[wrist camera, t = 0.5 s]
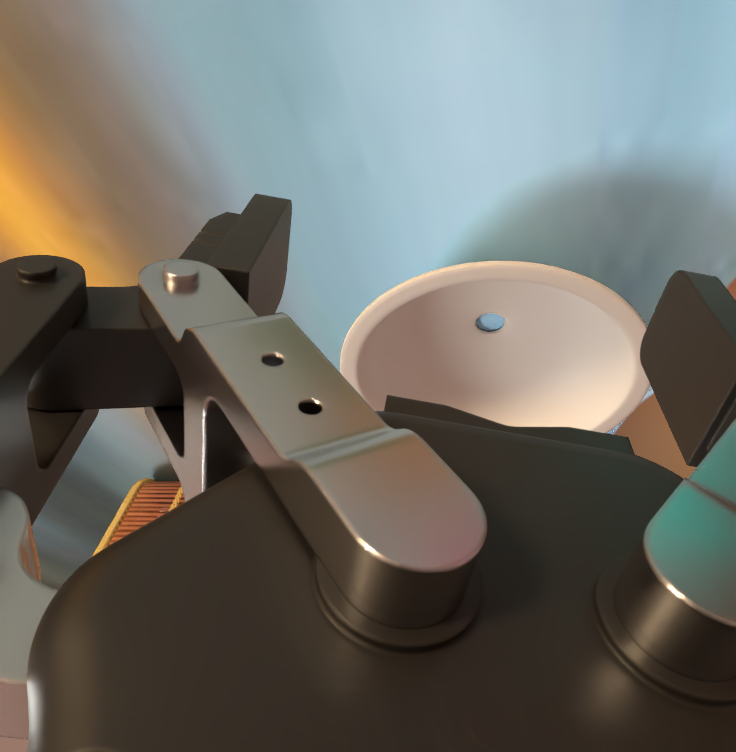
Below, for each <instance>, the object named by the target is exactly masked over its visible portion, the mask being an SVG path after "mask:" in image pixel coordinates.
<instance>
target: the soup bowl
mask: <svg viewBox="0 0 736 752" xmlns="http://www.w3.org/2000/svg"><path fill="white" fill-rule="evenodd" d="M488 313H493V314H497V315H500V316H501V317H503V319H504V325H503V327H502V328H500V329H499V330H497V331H493V332H486V331H482V330H480V329H479V328H478V327H477V326H476V319H477V318H478V317H480V316H481V315H484V314H488ZM646 329H647V327H646V325H645V323H644V321H643V320H642V318H641V317H640V316H639V315H638V313H637V312H636V311H635V309H634V308H633V307H632V306H631V305H630V304H629V303H628V302H627V301H626V300H624V299H623V298H622V297H620V296H619V295H618V294H617V293H615V292H614V291H612V290H611V289H609V288H607V287H606V286H604V285H603V284H601V283H599V282H597V281H594V280H592V279H590V278H588V277H586V276H583V275H580V274H578V273H575V272H572V271H569V270H565V269H562V268H558V267H554V266H549V265H544V264H539V263H530V262H521V261H482V262H473V263H465V264H459V265H454V266H449V267H445V268H441V269H437V270H433V271H430V272H427V273H425V274H422V275H419V276H416V277H414V278H412V279H409V280H407V281H405V282H403V283H401V284H399V285H397V286H395V287H394V288H392V289H390V290H388V291H387V292H386V293H384V294H383V295H381V296H380V297H378V298H377V299H376V300H375V301H373V302H372V303H371V304H370V305H369V306H368V307H367V308H366V309H365V310H364V311H363V312H362V313H361V314H360V315H359V316H358V318H357V319H356V321H355V322H354V323H353V325H352V326H351V328H350V330H349V332H348V334H347V336H346V338H345V340H344V343H343V346H342V350H341V355H340V372H341V374H342V375H343V377H344V378H345V379H346V380H347V381H348V382H349V383H350V384H351V385H352V387H353V388H354V389H355V390H356V391H357V392H358V393H359V394H360V395H361V396H362V398H363V399H364V400H365V401H366V402H367V403H368V404H369V405H370V406H371V408H372V409H373V410H374V411H384V407H385V402H386V397H387V395H391V396H396V397H402V398H408V399H414V400H419V401H425V402H431V403H436V404H442V405H447V406H450V407H453V408H456V409H459V410H462V411H465V412H468V413H471V414H474V415H477V416H480V417H483V418H485V419H488V420H491V421H494V422H497V423H500V424H503V425H507V426H514V427H572V428H578V429H584V430H589V431H595V432H601V433H607V432H609V431H610V430H612V429H613V428H615V427H616V426H617V425H619V424H620V423H621V422H622V421H623V420H625V419H626V418H627V417H628V416H629V415H630V414H631V413H632V412H633V411H634V410H635V409H636V407H637V406H638V405H639V404H640V402H641V401H642V399H643V398H644V396H645V395H646V393H647V391H648V389H649V386H650V383H649V380H648V378H647V376H646V374H645V372H644V369H643V367H642V365H641V362H640V347H641V342H642V339H643V336H644V334H645V331H646Z"/></svg>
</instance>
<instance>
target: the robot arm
mask: <svg viewBox="0 0 736 752" xmlns="http://www.w3.org/2000/svg"><path fill="white" fill-rule="evenodd" d="M291 214H292V203H291V200H288V199H283V198H277V197H272V196H266V195H260V194H255V195H254V196H253V198H252V199H251V201H250V202H249V203H248V205H247V206H246V208H245V209H244V211H243V212H242V214H235V213H230V212H226V213H224V214H221V215H219V216H217V217H214V218H212V219H210V220H209V221H208V222H207V223H206V225H205V226H204V227H203V229H202V230H201V232H199V234H198V235H197V236H196V237H195V239H194V241H192V242H191V244H190V245H189V246H188V248H187V249H186V250H185V251H184V253H183V254H182V255H181V256H180V258H179V259H170V260H162V261H158V262H154V263H152V264H149V265H147V266H145V267H144V268H143V269H141V271H140V272H139V274H138V286H130V287H86V278H85V271H84V269H83V267H82V266H80V265H79V264H78V263H76V262H74V261H72V260H70V259H66V258H63V257H58V256H50V255H31V256H23V257H17V258H13V259H10V260H7V261H4V262H2V263H0V737H8V738H17V739H27V740H28V743H27V752H736V300H735V299H734V298H733V297H732V295H731V294H730V293H729V291H728V290H727V289H726V288H725V286H724V285H723V284H722V282H721V281H720V280H719V279H718V278H717V277H715V276H710V275H705V274H699V273H693V272H688V271H682V270H679V271H676V272H675V273H674V274H673V275H672V276H671V278H670V279H669V281H668V283H667V285H666V287H665V290H664V292H663V294H662V296H661V298H660V301H659V303H658V305H657V307H656V309H655V312H654V314H653V316H652V318H651V320H650V323H649V325H648V327H647V329H646V331H645V334H644V336H643V339H642V342H641V347H640V362H641V365H642V367H643V369H644V372H645V374H646V376H647V378H648V380H649V383H650V385H651V387H652V389H653V391H654V394H655V396H656V398H657V400H658V402H659V405H660V407H661V409H662V411H663V413H664V415H665V418H666V420H667V422H668V424H669V427H670V429H671V431H672V433H673V435H674V438H675V440H676V442H677V444H678V447H679V449H680V451H681V453H682V455H683V457H684V460H685V461H686V464H687V465H689V466H694V467H697V468H696V469H695V470H694V472H693V473H692V474H691V476H690V477H689V478H688V479H687V478H685V479H683V478H682V477H680V476H678V475H677V474H675V473H673V472H672V471H670V470H668V469H666V468H664V467H662V466H660V465H658V464H656V463H654V462H652V461H649V460H647V459H645V458H642V457H640V456H637V455H635V454H634V452H633V449H632V446H631V444H630V440H629V438H628V437H623V436H618V435H612V434H606V433H601V432H595V431H589V430H584V429H578V428H572V427H514V426H507V425H503V424H500V423H497V422H494V421H491V420H488V419H485V418H483V417H480V416H477V415H474V414H471V413H468V412H465V411H462V410H459V409H456V408H453V407H450V406H447V405H442V404H436V403H431V402H425V401H419V400H414V399H408V398H402V397H396V396H391V395H387V397H386V402H385V407H384V411H374V410H373V409H372V408H371V406H370V405H369V404H368V403H367V402H366V401H365V400H364V399H363V398H362V396H361V395H360V394H359V393H358V392H357V391H356V390H355V389H354V388H353V387H352V385H351V384H350V383H349V382H348V381H347V380H346V379H345V378H344V377H343V375H342V374H341V373H340V372H339V371H338V370H337V369H336V368H335V367H334V366H333V364H332V363H331V362H330V361H329V360H328V359H327V358H326V357H325V356H324V354H323V353H322V352H321V351H320V350H319V349H318V348H317V347H316V346H315V345H314V343H313V342H312V341H311V340H310V339H309V338H308V337H307V336H306V335H305V334H304V332H303V331H302V330H301V329H300V328H299V327H298V326H297V325H296V324H295V322H294V321H293V320H292V319H291V318H290V317H289V316H288V315H286V314H285V313H276V314H275V312H276V309H277V307H278V305H279V302H280V300H281V297H282V294H283V290H284V285H285V279H286V272H287V261H288V249H289V238H290V226H291ZM135 407H145V413H146V416H147V418H148V420H149V422H150V424H151V426H152V428H153V429H154V431H155V433H156V435H157V437H158V439H159V441H160V443H161V445H162V447H163V449H164V451H165V453H166V455H167V456H168V458H169V460H170V462H171V464H172V466H173V468H174V470H175V472H176V474H177V476H178V478H179V480H180V483H181V486H182V490H183V494H184V499H185V502H184V503H182V504H181V505H179V506H177V507H175V508H174V509H172V510H170V511H168V512H167V513H165V514H163V515H161V516H160V517H158V518H156V519H154V520H153V521H151V522H149V523H147V524H146V525H144V526H142V527H140V528H139V529H137V530H135V531H133V532H132V533H130V534H128V535H126V536H125V537H123V538H121V539H119V540H118V541H116V542H114V543H112V544H111V545H109V546H108V547H106V548H104V549H103V550H101V551H100V552H98V553H97V554H95V555H94V556H92V557H91V558H90V559H89V560H87V561H86V562H85V563H84V564H83V565H81V566H80V567H79V568H78V569H77V570H76V571H75V572H74V573H73V574H72V575H71V576H70V577H69V578H68V579H67V581H66V582H65V583H64V584H63V585H62V586H61V588H60V589H59V590H58V589H53V588H51V587H48V586H45V585H43V584H42V583H40V577H41V573H40V566H39V561H38V556H37V551H36V546H35V541H34V537H33V532H32V527H31V526H32V525H33V523H34V521H35V520H36V518H37V516H38V514H39V513H40V511H41V509H42V508H43V506H44V504H45V503H46V501H47V499H48V498H49V496H50V494H51V493H52V491H53V489H54V487H55V486H56V484H57V482H58V481H59V479H60V477H61V476H62V474H63V472H64V471H65V469H66V467H67V466H68V464H69V462H70V461H71V459H72V457H73V455H74V454H75V452H76V450H77V449H78V447H79V445H80V444H81V442H82V440H83V439H84V437H85V435H86V434H87V432H88V430H89V428H90V427H91V425H92V423H93V422H94V420H95V418H96V417H97V414H98V412H99V409H110V408H135Z"/></svg>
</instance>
